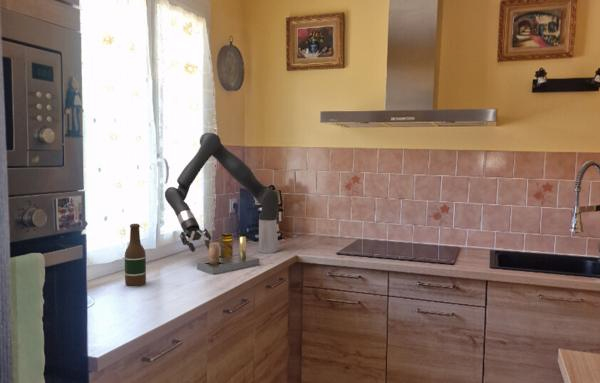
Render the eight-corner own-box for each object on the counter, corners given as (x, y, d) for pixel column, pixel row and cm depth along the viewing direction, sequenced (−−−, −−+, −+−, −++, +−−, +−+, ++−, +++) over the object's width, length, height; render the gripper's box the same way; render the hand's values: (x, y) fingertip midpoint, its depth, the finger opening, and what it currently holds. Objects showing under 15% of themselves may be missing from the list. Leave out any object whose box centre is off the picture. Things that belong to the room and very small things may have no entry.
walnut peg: (215, 268, 213) (215, 242, 212) (221, 270, 210) (221, 243, 209) (207, 270, 210) (207, 243, 209) (213, 271, 207) (213, 244, 206)
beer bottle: (145, 286, 183) (144, 225, 182) (124, 287, 181) (123, 225, 179) (146, 281, 191) (145, 222, 189) (125, 282, 189) (124, 222, 187)
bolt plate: (242, 260, 229) (243, 234, 228) (259, 264, 221) (259, 237, 220) (197, 269, 211) (197, 240, 210) (212, 274, 203) (212, 244, 202)
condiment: (235, 257, 236) (235, 234, 235) (219, 259, 231) (219, 235, 230) (229, 255, 242) (229, 231, 241) (213, 256, 237) (213, 233, 236)
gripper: (177, 218, 216) (191, 246, 209) (204, 215, 226) (218, 242, 219) (171, 228, 220) (185, 256, 213) (197, 225, 230) (211, 252, 223)
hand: (202, 249), depth 216 cm, fingers open, 8 cm apart
